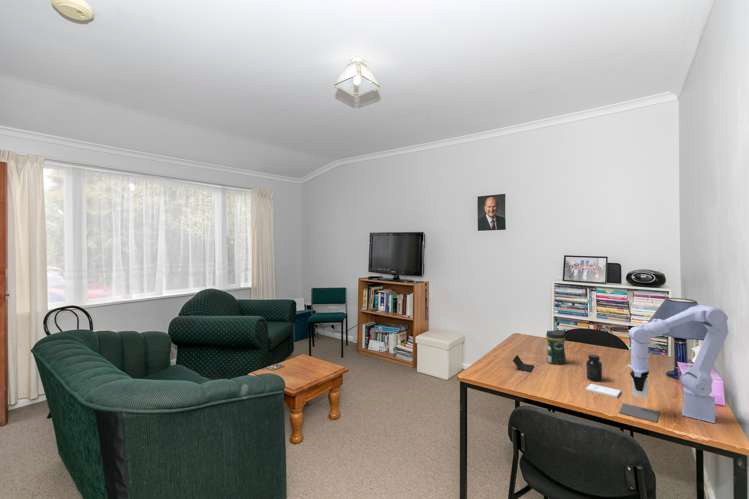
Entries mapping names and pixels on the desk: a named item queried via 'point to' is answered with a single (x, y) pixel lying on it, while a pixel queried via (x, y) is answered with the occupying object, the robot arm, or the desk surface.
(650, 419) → the mat
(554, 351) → the coffee jar
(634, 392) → the slab
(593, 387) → the external hard drive
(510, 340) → the desk surface
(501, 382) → the desk surface
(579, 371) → the desk surface
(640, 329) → the robot arm
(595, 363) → the supplement bottle
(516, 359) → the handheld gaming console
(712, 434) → the desk surface
